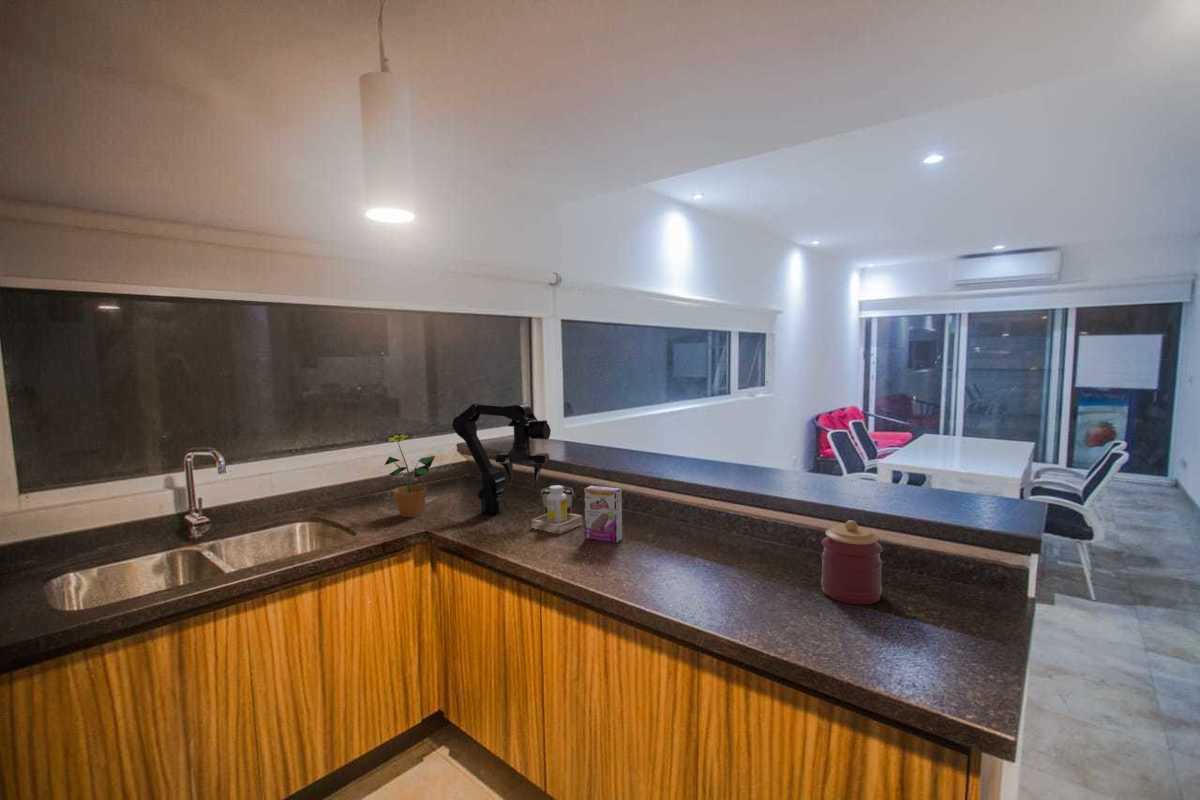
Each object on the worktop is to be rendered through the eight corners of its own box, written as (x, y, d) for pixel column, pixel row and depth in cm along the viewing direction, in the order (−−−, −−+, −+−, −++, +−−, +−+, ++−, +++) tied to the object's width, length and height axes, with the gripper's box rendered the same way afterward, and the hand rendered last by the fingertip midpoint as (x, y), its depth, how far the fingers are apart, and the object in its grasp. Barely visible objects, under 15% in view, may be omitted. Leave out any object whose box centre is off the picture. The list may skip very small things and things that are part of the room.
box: (531, 528, 181) (531, 519, 181) (554, 518, 191) (554, 510, 191) (560, 534, 174) (560, 525, 174) (582, 524, 184) (582, 515, 184)
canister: (878, 610, 118) (880, 532, 116) (816, 598, 125) (817, 523, 123) (883, 588, 129) (885, 517, 127) (826, 578, 135) (826, 509, 134)
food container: (577, 512, 199) (576, 485, 198) (574, 517, 193) (573, 490, 192) (544, 512, 200) (543, 485, 200) (540, 517, 194) (540, 489, 193)
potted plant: (375, 516, 199) (371, 436, 196) (421, 505, 213) (417, 431, 211) (400, 525, 187) (396, 440, 185) (446, 513, 201) (443, 434, 199)
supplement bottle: (566, 520, 187) (565, 484, 186) (567, 526, 180) (567, 488, 179) (547, 521, 186) (546, 485, 185) (548, 527, 179) (547, 489, 178)
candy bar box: (584, 539, 168) (583, 488, 167) (591, 534, 173) (590, 485, 172) (616, 544, 164) (615, 491, 163) (623, 539, 168) (622, 487, 167)
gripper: (488, 441, 187) (490, 485, 189) (539, 442, 183) (540, 487, 184) (501, 437, 198) (502, 478, 199) (549, 437, 194) (550, 480, 195)
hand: (523, 481), depth 194 cm, fingers open, 9 cm apart
